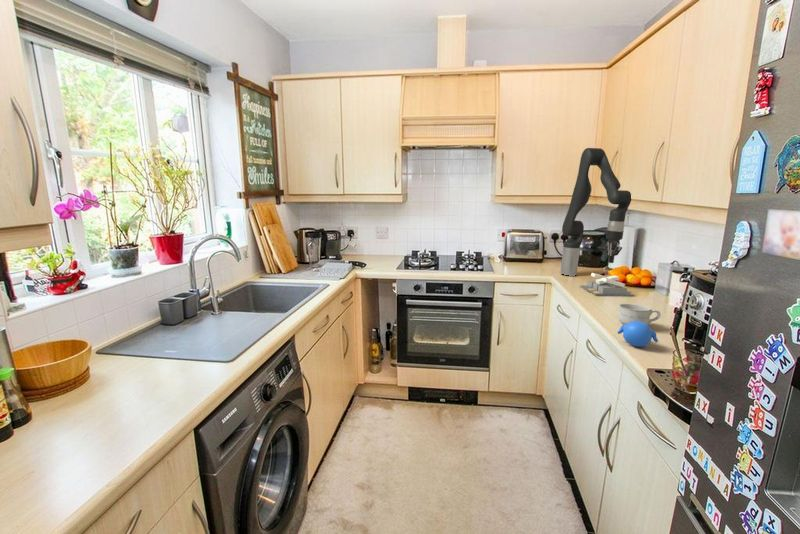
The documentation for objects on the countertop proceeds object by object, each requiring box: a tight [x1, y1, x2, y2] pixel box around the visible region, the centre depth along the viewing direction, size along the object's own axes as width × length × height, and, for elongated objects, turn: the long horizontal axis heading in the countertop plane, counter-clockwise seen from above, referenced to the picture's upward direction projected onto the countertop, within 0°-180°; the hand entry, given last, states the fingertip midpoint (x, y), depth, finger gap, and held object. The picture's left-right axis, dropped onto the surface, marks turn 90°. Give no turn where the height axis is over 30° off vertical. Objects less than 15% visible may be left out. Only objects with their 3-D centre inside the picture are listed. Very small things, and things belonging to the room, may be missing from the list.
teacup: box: [617, 303, 662, 326], centre depth 150 cm, size 14×11×8 cm
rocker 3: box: [602, 277, 626, 287], centre depth 195 cm, size 4×10×2 cm, turn 91°
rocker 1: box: [590, 272, 607, 279], centre depth 205 cm, size 4×10×2 cm, turn 91°
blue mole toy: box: [617, 321, 659, 348], centre depth 133 cm, size 12×12×8 cm
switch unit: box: [579, 279, 635, 297], centre depth 201 cm, size 17×19×5 cm
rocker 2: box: [595, 275, 620, 284], centre depth 200 cm, size 4×10×2 cm, turn 91°
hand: (610, 262), depth 204 cm, fingers closed
